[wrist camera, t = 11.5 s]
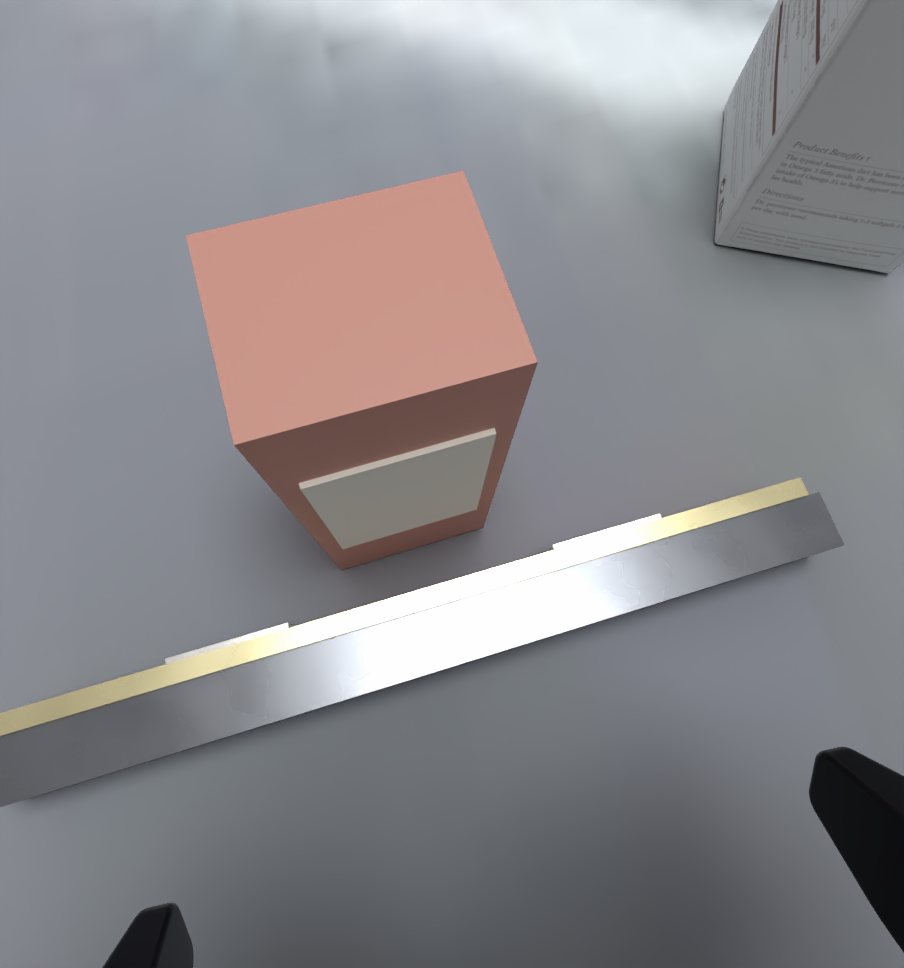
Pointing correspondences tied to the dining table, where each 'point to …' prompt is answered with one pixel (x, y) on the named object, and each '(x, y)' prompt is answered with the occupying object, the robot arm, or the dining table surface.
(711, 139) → the dining table surface
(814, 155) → the supplement box
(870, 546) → the dining table surface
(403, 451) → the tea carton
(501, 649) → the price rail
